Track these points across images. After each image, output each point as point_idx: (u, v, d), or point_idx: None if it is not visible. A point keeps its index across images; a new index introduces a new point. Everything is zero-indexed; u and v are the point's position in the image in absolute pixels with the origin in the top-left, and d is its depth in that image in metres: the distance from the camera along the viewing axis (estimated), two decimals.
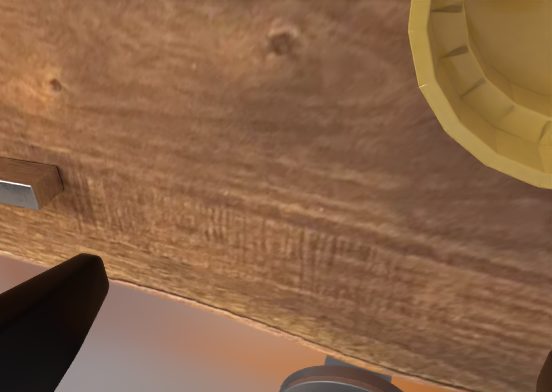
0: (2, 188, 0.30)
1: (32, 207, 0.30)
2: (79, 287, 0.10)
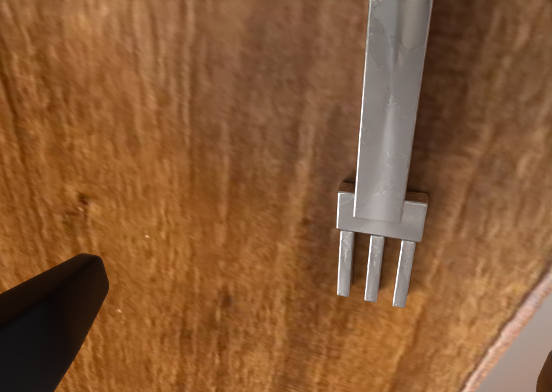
0: None
1: None
2: (79, 287, 0.10)
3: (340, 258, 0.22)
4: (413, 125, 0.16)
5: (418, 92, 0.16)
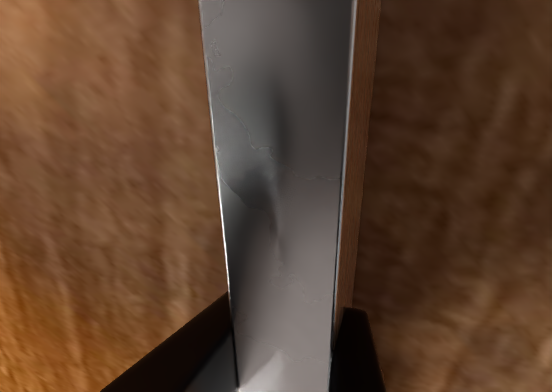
0: None
1: None
2: None
3: None
4: (332, 317, 0.08)
5: (336, 262, 0.07)
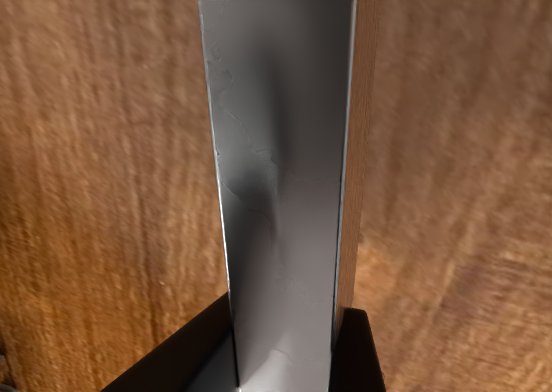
0: (240, 0, 0.05)
1: None
2: None
3: None
4: (332, 319, 0.08)
5: (336, 264, 0.07)
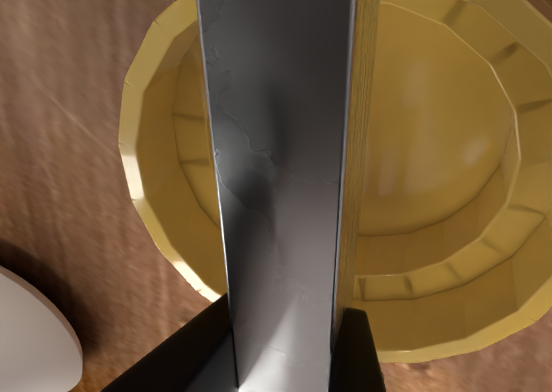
0: None
1: None
2: None
3: None
4: (331, 320, 0.08)
5: (335, 264, 0.07)
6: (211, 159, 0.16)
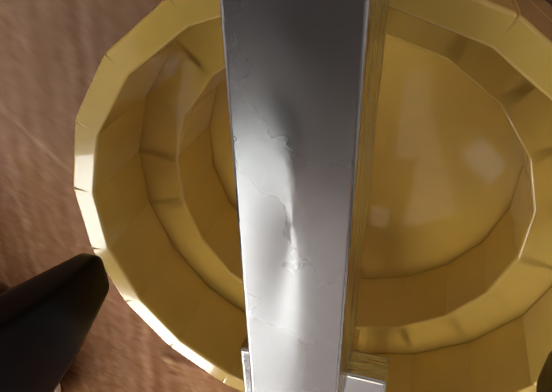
0: None
1: None
2: (79, 287, 0.10)
3: None
4: (342, 300, 0.08)
5: (347, 246, 0.07)
6: (185, 199, 0.14)
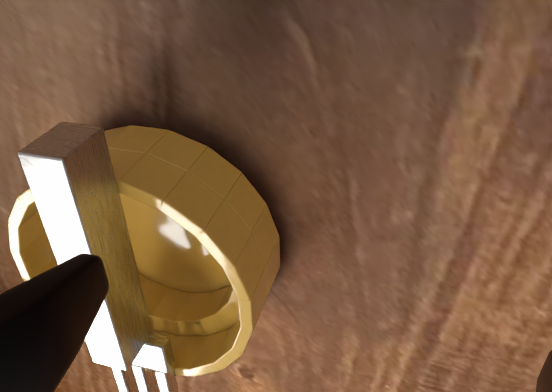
0: (48, 209, 0.18)
1: (61, 171, 0.16)
2: (79, 287, 0.10)
3: (115, 378, 0.26)
4: (106, 308, 0.20)
5: None
6: None
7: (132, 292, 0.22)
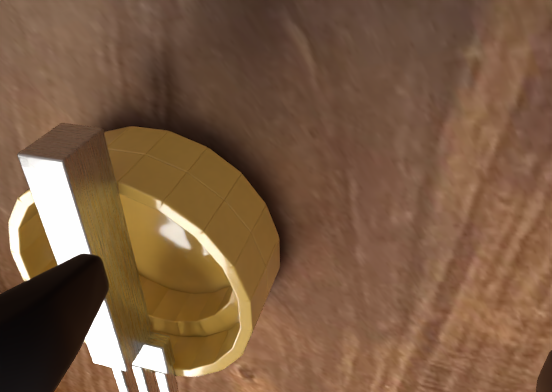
0: (49, 210, 0.18)
1: (61, 172, 0.16)
2: (79, 287, 0.10)
3: (116, 379, 0.26)
4: (106, 308, 0.20)
5: None
6: None
7: (132, 293, 0.22)
